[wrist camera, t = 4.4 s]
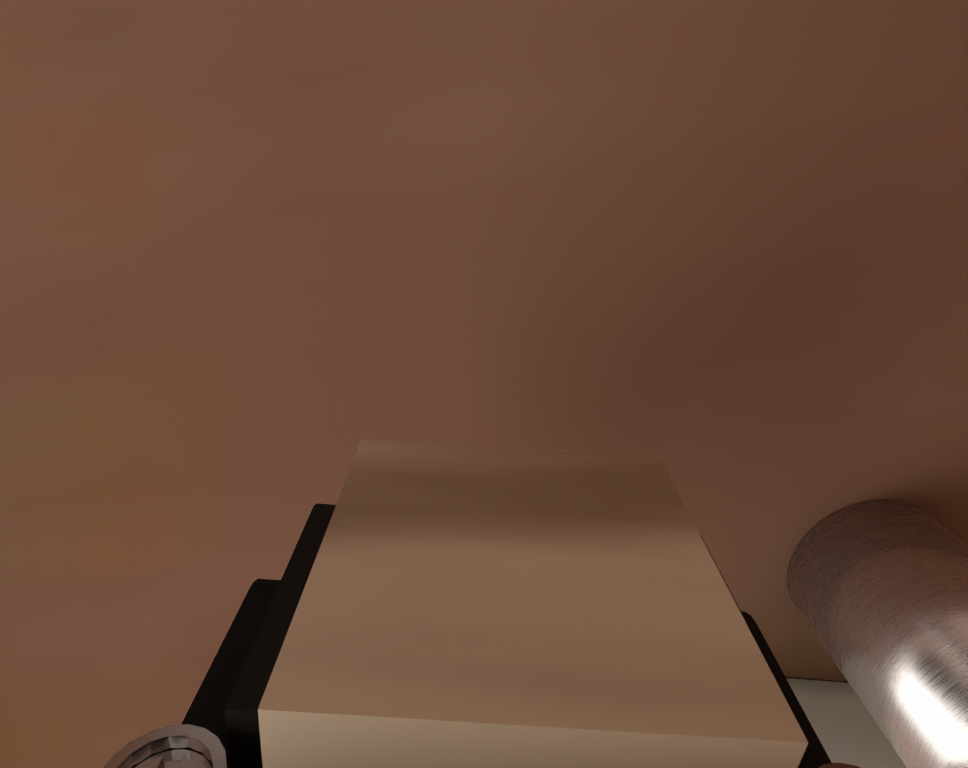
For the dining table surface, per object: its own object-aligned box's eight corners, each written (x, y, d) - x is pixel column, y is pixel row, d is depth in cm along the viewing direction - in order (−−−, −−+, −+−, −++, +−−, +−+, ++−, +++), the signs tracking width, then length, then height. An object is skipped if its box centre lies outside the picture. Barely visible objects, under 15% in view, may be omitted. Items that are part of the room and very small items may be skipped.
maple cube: (361, 439, 10) (258, 709, 5) (662, 461, 10) (809, 743, 6) (359, 662, 12) (281, 999, 7) (611, 678, 12) (688, 1017, 8)
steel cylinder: (810, 493, 19) (984, 674, 12) (970, 506, 19) (1229, 693, 12) (770, 624, 20) (903, 844, 14) (916, 635, 20) (1118, 859, 14)
